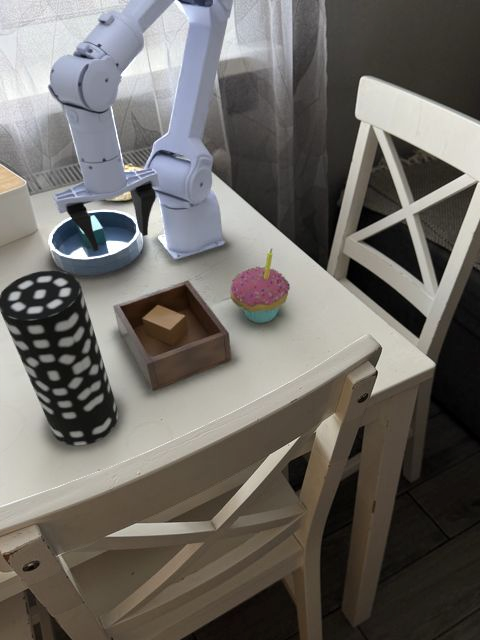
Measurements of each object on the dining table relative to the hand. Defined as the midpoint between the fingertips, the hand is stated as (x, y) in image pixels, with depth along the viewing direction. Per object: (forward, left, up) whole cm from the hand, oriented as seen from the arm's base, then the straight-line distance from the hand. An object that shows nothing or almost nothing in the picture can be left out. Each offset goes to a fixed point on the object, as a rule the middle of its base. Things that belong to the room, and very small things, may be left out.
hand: (119, 240), depth 89 cm
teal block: (+1, -16, -9) cm, 18 cm away
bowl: (+1, -13, -9) cm, 16 cm away
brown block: (-1, +14, -8) cm, 16 cm away
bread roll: (-10, -31, -9) cm, 34 cm away
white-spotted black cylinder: (+14, +23, -9) cm, 29 cm away
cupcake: (-15, +16, -9) cm, 24 cm away
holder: (-1, +16, -9) cm, 19 cm away
